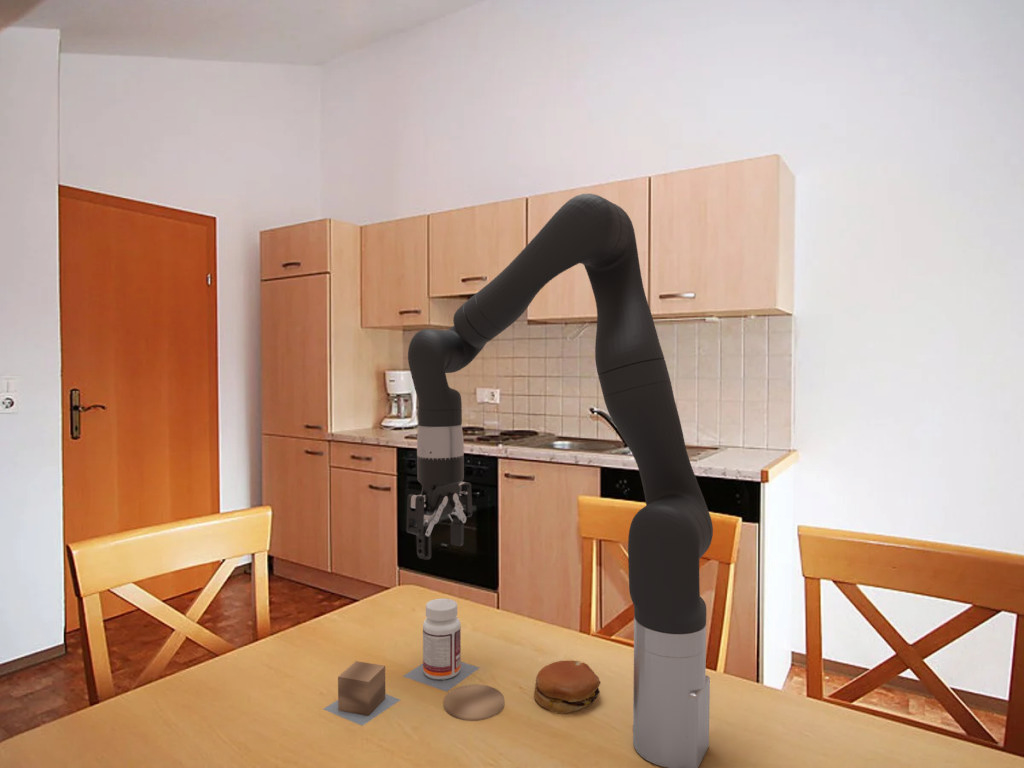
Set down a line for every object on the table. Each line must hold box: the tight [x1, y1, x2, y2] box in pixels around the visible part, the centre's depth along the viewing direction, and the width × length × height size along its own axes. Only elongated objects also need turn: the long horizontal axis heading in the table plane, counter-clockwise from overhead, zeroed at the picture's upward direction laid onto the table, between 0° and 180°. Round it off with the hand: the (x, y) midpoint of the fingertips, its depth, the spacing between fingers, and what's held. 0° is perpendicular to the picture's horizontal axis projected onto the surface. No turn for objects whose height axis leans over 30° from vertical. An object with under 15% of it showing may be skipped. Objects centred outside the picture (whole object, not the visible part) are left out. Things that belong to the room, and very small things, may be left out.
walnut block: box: [337, 660, 386, 716], centre depth 94 cm, size 5×5×5 cm
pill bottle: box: [422, 598, 462, 680], centre depth 104 cm, size 6×6×11 cm
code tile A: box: [402, 661, 480, 693], centre depth 104 cm, size 9×9×1 cm
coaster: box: [443, 683, 505, 722], centre depth 94 cm, size 9×9×1 cm
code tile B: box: [323, 693, 401, 726], centre depth 94 cm, size 8×8×1 cm
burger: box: [533, 659, 601, 714], centre depth 96 cm, size 10×9×5 cm
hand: (441, 551), depth 103 cm, fingers open, 8 cm apart
